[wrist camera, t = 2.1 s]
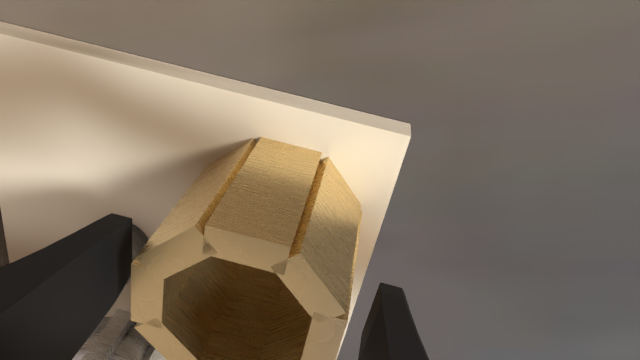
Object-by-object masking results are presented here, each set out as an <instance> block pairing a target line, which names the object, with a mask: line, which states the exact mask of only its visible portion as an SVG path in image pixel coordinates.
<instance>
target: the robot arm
mask: <svg viewBox="0 0 640 360" xmlns="http://www.w3.org/2000/svg"><path fill="white" fill-rule="evenodd" d="M131 263H132V218H129V217H125V216H121V215H118V214H114V213H111V214H109V215H107V216H105V217H103V218H101V219H99V220H97V221H95V222H93V223H91V224H89V225H87V226H85V227H84V228H82V229H80V230H78V231H76V232H74V233H72V234H70V235H68V236H66V237H64V238H62V239H60V240H58V241H56V242H54V243H53V244H51V245H49V246H47V247H45V248H43V249H40V250H38V251H36V252H34V253H32V254H30V255H27V256H25V257H23V258H21V259H19V260H16V261H14V262H12V263H10V264H8V265H6V266H3V267H1V268H0V360H72V359H73V358H74V356H75V355H76V354H77V352H78V351H79V350H80V348H81V347H82V346H83V344H84V343H85V342H86V340H87V339H88V338H89V337H90V335H91V334H92V333H93V331H94V330H95V329H96V327H97V326H98V325H99V323H100V322H101V321H102V319H103V318H104V317H105V315H106V314H107V313H108V311H109V310H110V309H111V307H112V306H113V305H114V303H115V302H116V300H117V298H118V297H119V295H120V293H121V292H122V290H123V288H124V286H125V284H126V283H127V281H128V279H129V277H130V275H131ZM358 360H429V358H428V356H427V353H426V351H425V349H424V346H423V344H422V342H421V339H420V337H419V334H418V332H417V329H416V326H415V324H414V321H413V318H412V315H411V312H410V310H409V306H408V303H407V300H406V297H405V293H404V291H403V289H402V288H399V287H396V286H392V285H388V284H384V283H380V285H379V287H378V290H377V293H376V296H375V299H374V301H373V304H372V307H371V310H370V312H369V315H368V318H367V321H366V324H365V326H364V329H363V332H362V337H361V344H360V351H359V358H358Z"/></svg>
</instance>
